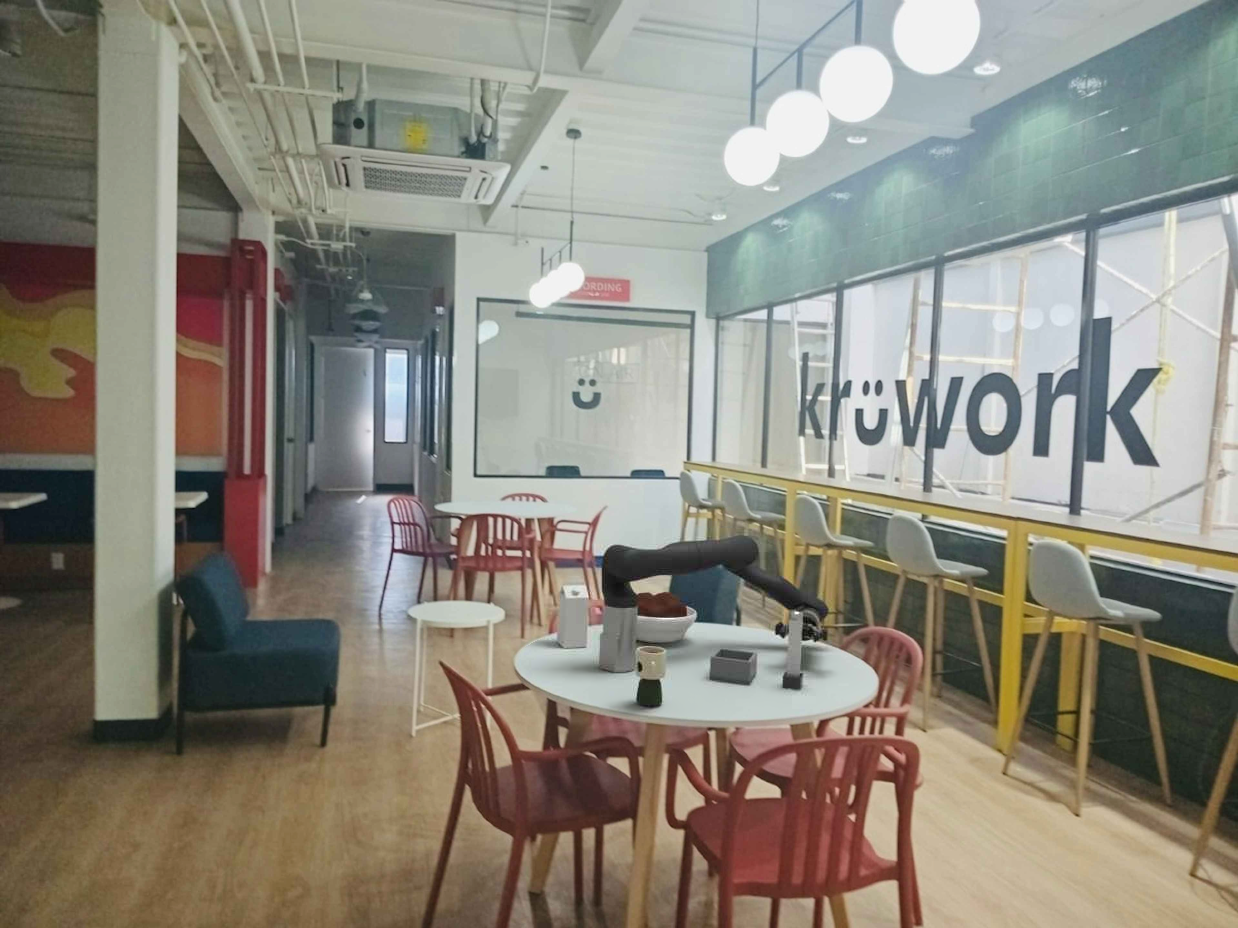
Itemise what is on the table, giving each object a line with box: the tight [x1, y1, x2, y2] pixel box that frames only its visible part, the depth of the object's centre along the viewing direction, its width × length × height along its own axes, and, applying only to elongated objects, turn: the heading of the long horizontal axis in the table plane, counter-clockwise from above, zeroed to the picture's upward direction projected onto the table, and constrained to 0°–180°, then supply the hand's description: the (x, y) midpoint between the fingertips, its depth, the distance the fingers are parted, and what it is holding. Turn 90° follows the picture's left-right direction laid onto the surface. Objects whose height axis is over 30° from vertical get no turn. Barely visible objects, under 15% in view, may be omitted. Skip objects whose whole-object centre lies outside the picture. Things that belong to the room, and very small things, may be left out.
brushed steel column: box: [781, 610, 804, 690], centre depth 225 cm, size 5×5×20 cm
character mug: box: [635, 645, 667, 707], centre depth 205 cm, size 11×7×13 cm, turn 3°
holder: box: [709, 647, 758, 686], centre depth 231 cm, size 11×11×6 cm
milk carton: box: [556, 581, 590, 649], centre depth 257 cm, size 7×7×19 cm
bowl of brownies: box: [636, 591, 698, 644], centre depth 268 cm, size 25×25×15 cm
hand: (798, 636), depth 234 cm, fingers open, 8 cm apart
